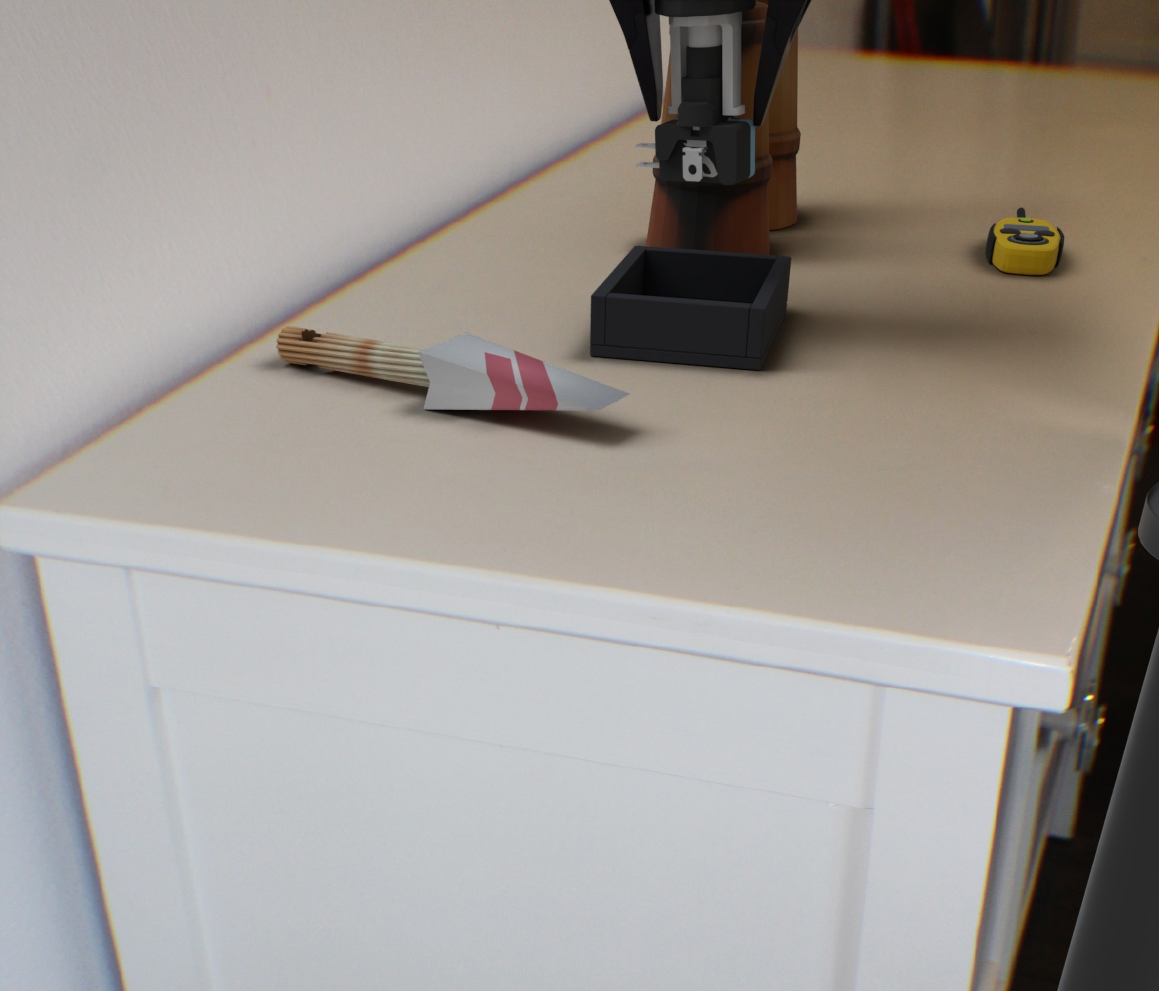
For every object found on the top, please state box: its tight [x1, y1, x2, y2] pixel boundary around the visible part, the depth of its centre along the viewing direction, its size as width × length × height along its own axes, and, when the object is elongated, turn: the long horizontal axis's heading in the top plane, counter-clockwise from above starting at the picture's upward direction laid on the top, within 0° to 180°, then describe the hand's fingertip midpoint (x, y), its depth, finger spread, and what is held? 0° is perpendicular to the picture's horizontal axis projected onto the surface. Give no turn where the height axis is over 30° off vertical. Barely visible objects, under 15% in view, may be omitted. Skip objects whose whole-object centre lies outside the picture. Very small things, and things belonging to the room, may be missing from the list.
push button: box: [634, 0, 756, 185], centre depth 71 cm, size 7×5×10 cm
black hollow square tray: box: [589, 245, 792, 371], centre depth 78 cm, size 9×11×3 cm
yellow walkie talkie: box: [984, 207, 1065, 276], centre depth 95 cm, size 5×2×15 cm
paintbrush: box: [275, 325, 631, 412], centre depth 69 cm, size 4×3×20 cm
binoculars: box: [645, 0, 802, 255], centre depth 92 cm, size 18×8×20 cm, turn 162°
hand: (706, 123), depth 73 cm, fingers closed on push button, 5 cm apart
